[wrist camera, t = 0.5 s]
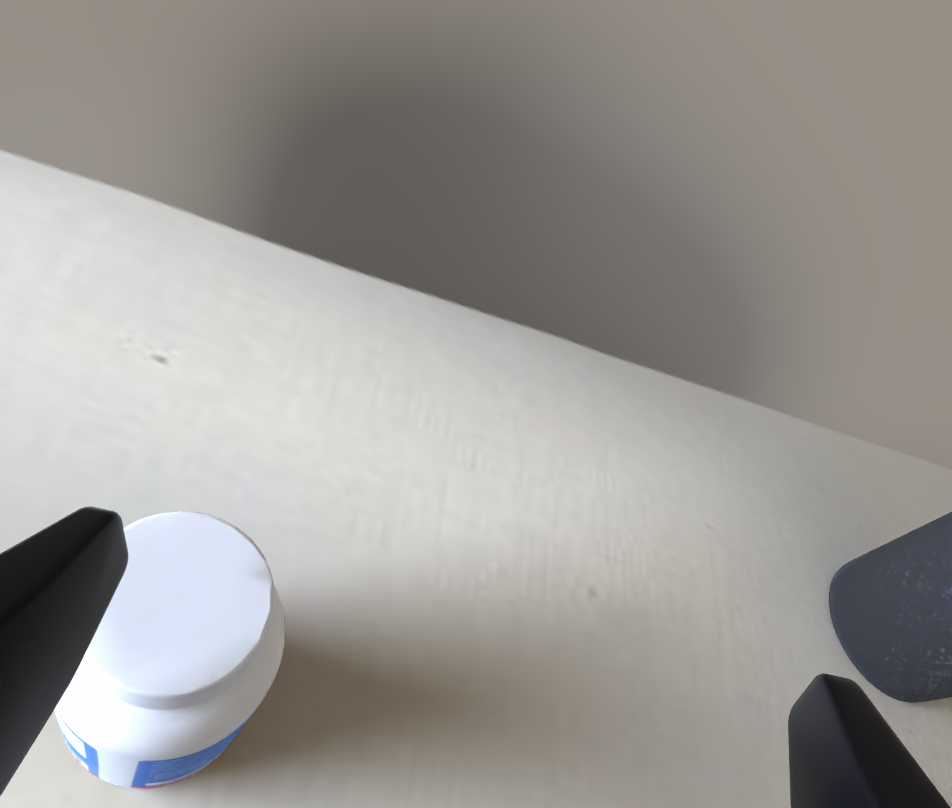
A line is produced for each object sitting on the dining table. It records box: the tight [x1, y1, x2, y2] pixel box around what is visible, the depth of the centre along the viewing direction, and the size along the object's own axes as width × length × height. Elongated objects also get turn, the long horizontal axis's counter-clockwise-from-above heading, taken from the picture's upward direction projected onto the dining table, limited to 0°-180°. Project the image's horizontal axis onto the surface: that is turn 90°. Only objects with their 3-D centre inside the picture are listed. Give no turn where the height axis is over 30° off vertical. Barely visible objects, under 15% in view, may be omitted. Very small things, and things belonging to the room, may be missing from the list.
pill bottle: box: [54, 512, 285, 789], centre depth 19 cm, size 6×5×10 cm
